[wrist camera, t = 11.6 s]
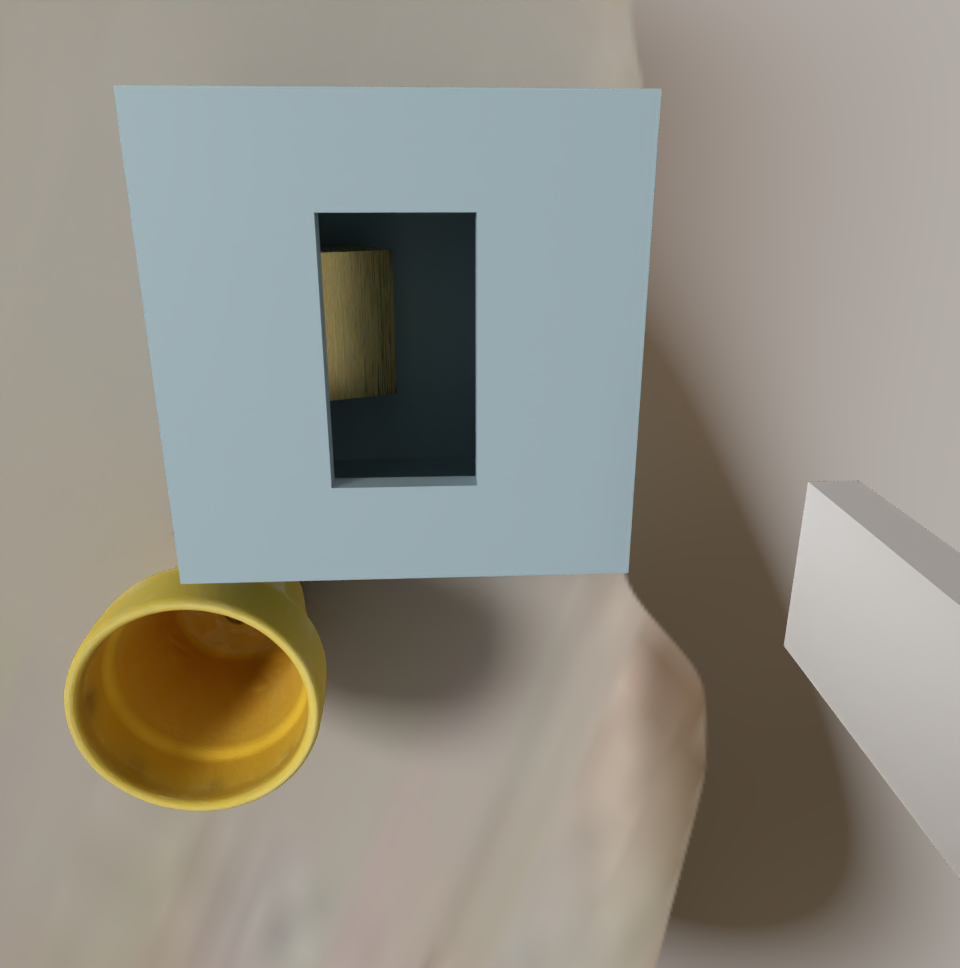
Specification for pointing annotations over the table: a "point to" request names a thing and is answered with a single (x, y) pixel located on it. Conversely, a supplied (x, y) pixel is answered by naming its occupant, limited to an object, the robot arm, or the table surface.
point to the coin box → (418, 324)
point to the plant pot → (198, 691)
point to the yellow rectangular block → (359, 320)
